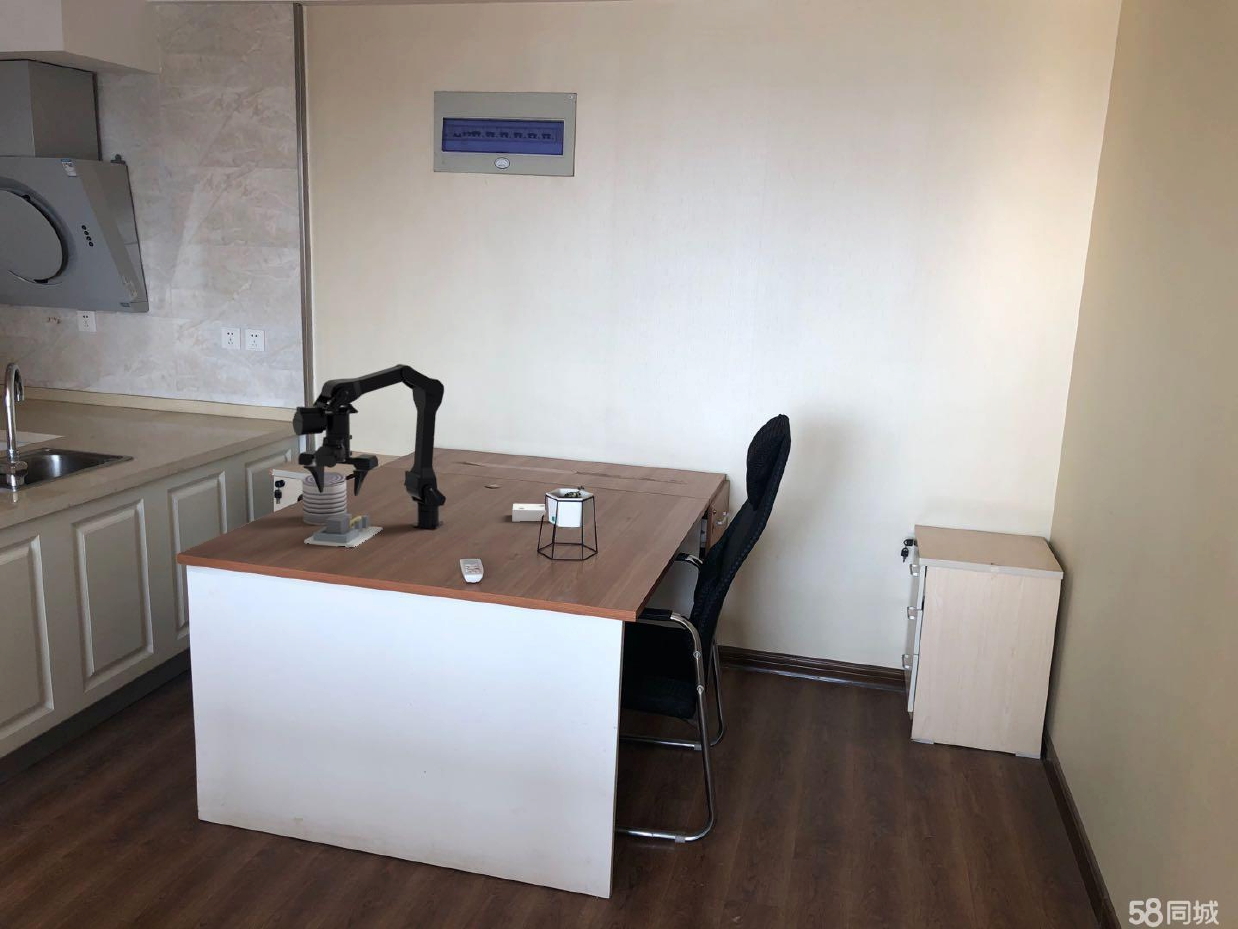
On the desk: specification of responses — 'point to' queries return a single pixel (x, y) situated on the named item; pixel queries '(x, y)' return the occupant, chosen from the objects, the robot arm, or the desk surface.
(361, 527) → the board
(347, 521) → the plug
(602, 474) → the desk surface
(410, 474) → the robot arm
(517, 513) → the bracket
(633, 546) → the desk surface
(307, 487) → the can
